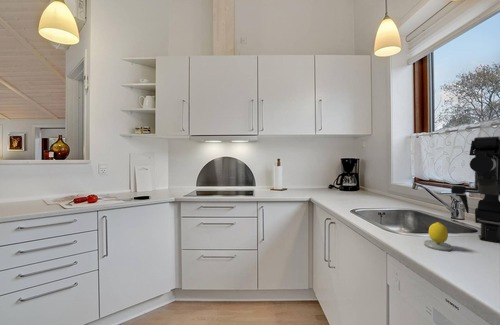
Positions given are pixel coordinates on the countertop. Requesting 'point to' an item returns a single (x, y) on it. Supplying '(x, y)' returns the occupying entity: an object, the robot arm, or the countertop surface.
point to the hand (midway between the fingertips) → (485, 215)
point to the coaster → (438, 245)
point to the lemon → (438, 233)
